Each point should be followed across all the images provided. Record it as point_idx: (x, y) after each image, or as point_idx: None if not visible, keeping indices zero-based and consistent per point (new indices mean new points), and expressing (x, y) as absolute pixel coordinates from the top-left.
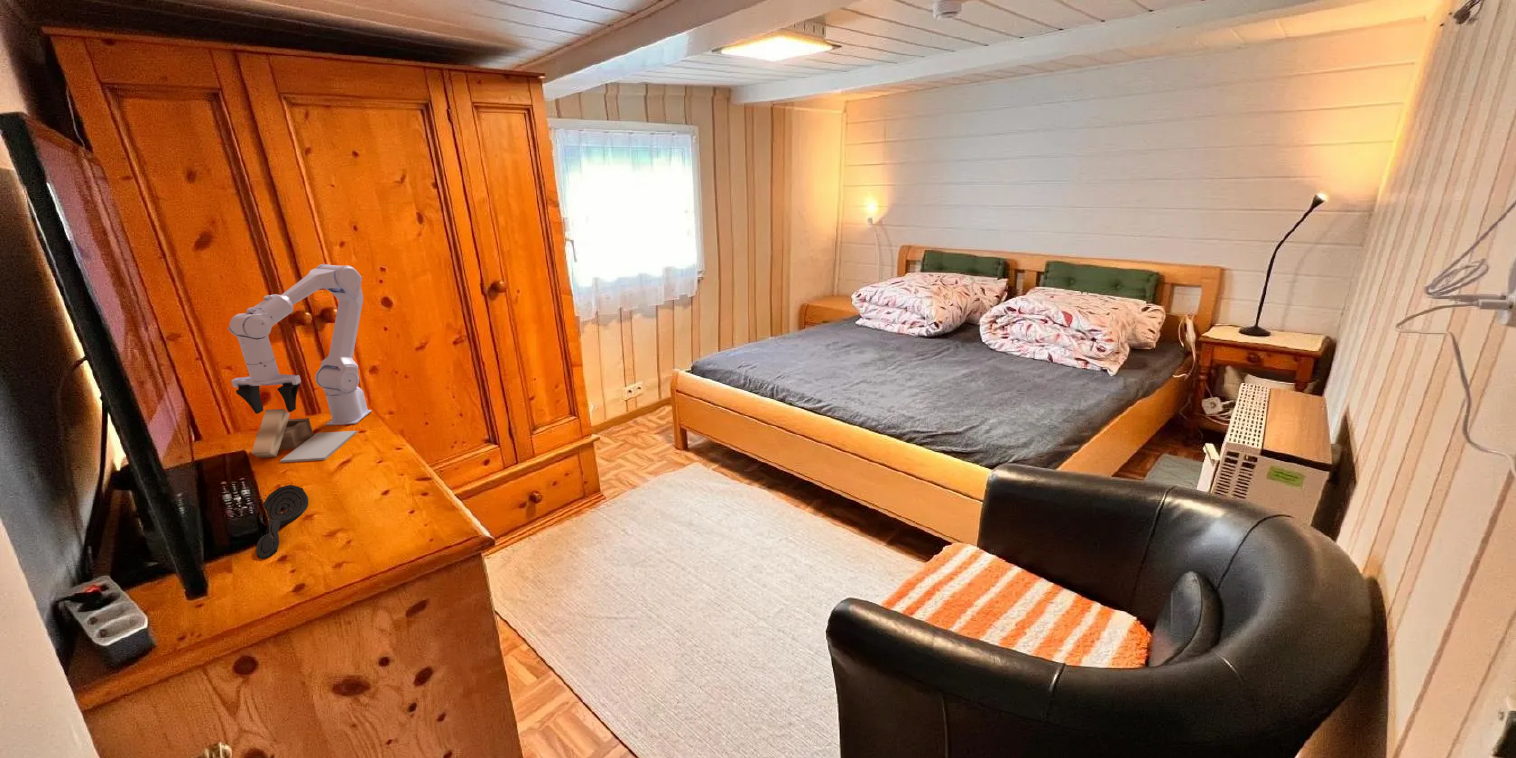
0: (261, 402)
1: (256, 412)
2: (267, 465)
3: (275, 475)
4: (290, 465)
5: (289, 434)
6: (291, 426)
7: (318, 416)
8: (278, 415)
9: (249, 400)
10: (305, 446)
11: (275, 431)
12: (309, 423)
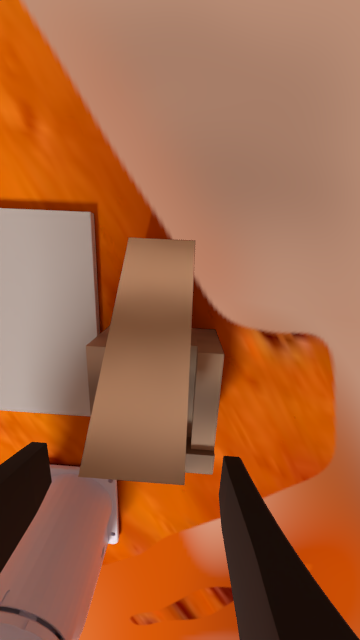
0: (229, 569)
1: (232, 462)
2: (128, 197)
3: (45, 90)
4: (45, 180)
5: (95, 342)
6: None
7: (175, 530)
8: (103, 423)
9: (281, 590)
10: (73, 319)
11: (112, 322)
12: None
